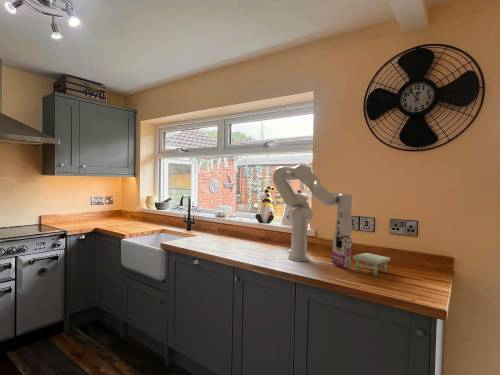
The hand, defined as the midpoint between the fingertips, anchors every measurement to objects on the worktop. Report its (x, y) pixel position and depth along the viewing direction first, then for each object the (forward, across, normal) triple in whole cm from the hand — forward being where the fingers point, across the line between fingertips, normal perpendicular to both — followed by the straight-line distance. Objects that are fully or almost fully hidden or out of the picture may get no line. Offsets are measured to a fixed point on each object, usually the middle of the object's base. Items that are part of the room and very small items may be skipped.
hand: (342, 246), depth 169 cm
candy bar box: (+11, 0, 0) cm, 11 cm away
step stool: (+11, +6, -15) cm, 20 cm away
